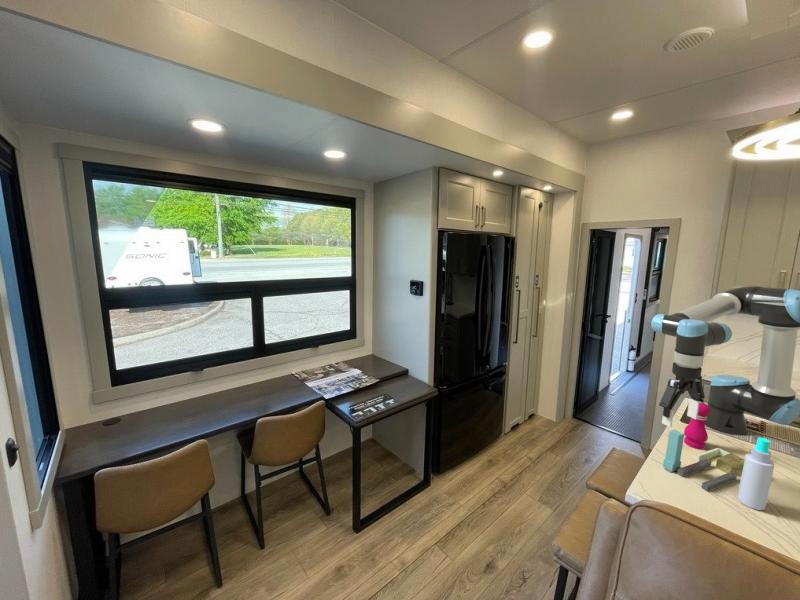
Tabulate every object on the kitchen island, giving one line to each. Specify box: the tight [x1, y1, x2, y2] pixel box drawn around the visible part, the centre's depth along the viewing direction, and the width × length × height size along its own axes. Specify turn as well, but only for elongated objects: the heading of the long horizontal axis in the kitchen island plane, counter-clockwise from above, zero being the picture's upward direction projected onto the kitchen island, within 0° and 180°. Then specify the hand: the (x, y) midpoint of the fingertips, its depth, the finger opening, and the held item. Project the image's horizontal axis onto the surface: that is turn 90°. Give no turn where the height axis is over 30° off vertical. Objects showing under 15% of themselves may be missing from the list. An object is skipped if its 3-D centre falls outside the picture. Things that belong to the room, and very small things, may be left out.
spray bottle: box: [737, 437, 775, 511], centre depth 101 cm, size 6×6×22 cm
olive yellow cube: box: [715, 456, 738, 474], centre depth 117 cm, size 4×4×4 cm
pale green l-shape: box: [695, 447, 730, 462], centre depth 118 cm, size 13×14×2 cm
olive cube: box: [724, 452, 745, 473], centre depth 119 cm, size 4×4×4 cm
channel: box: [676, 459, 738, 492], centre depth 114 cm, size 16×9×2 cm, turn 109°
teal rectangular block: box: [662, 429, 685, 473], centre depth 117 cm, size 3×4×14 cm
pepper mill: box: [683, 400, 710, 450], centre depth 131 cm, size 7×7×20 cm
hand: (679, 421), depth 115 cm, fingers open, 13 cm apart
